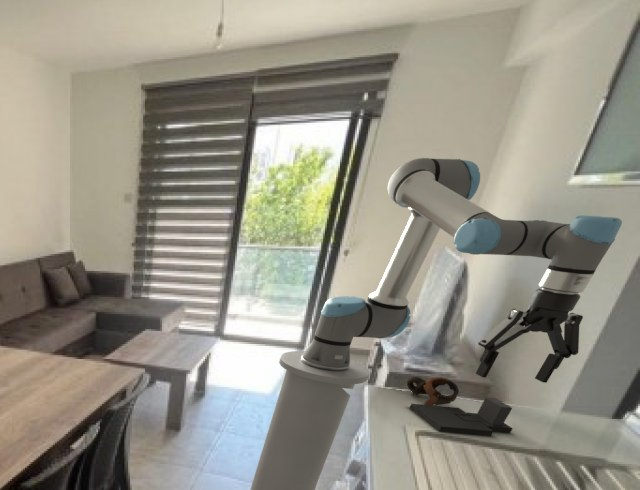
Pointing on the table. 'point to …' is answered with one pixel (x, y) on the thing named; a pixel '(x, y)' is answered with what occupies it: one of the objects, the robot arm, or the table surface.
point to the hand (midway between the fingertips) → (510, 378)
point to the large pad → (449, 420)
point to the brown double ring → (433, 389)
